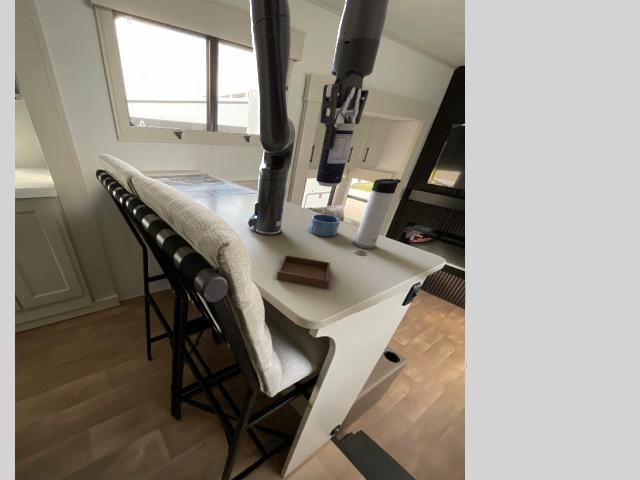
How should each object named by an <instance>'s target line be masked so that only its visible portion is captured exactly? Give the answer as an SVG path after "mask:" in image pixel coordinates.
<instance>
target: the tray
mask: <svg viewBox="0 0 640 480" xmlns="http://www.w3.org/2000/svg"><path fill="white" fill-rule="evenodd" d="M330 272H331V262H330V261H329V262H328V261H323V260H317V259H311V258H306V257H300V256H294V255H287V254H284V256H283V259H282V260H281V263H280V266H279V268H278V270H277V275H276V279H277V280H281V281H286V282H291V283H296V284H301V285H306V286H312V287H317V288H321V289H328V287H329V284H330V274H331V273H330Z"/></svg>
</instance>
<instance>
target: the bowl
mask: <svg viewBox="0 0 640 480" xmlns="http://www.w3.org/2000/svg"><path fill="white" fill-rule="evenodd" d="M340 223H341V218H339V217H338V216H335V215H330V214H325V213H324V214H323V213H321V214H320V213H319V214H314V215H312V217H311V221H310V226H309V231H310V232H311V234H313V235H316V236H320V237H334V236H336V235H337V233H338V230H339V226H340Z"/></svg>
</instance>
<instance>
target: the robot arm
mask: <svg viewBox="0 0 640 480" xmlns="http://www.w3.org/2000/svg"><path fill="white" fill-rule="evenodd" d="M389 1H390V0H345V2H344V7H343V11H342V14H341V18H340V23H339V27H338V32H337V39H336V43H335V48H334V53H333V54H334V55H333V60H332V64H331V65H332V66H331V70H330V71H331V72H330V73H331V75H332V76H333V77H335V80H334V83H329V84H325V85H324V86H323V90H322V100H321V109H320V110H321V111H320V120H319V122H320V124H323V125H324V128H325V132H324V136H323V141H322V147H323V149H333V147H334V142H335V138H336V133H337V128H336V127H337V126H338V124H339V123H340V122H341V123H343V124H353V125H352V127H353V128H355V126H356V125H359V124H360V122H361V118H362V116H363V112H364V108H365V106H366V102H367V99H368V96H369V89H363V85H364V84H363V83H364V78H365V77H368V76H370V75H372V73H373V72H374V67H375V63H376V60H377V55H378V52H379V47H380V44H381V40H382V37H383V36H382V35H383V33H384V27H385V23H386V18H387V12H388V5H389ZM249 3H250V17H251V18H250V19H251V20H250V21H251V22H250V23H251V35H252V48H253V56H254V65H255V77H256V85H257V94H258V140H259V144H260V146H261V148H262V149H263V153H262V154H263V155H262V160H261V164H260V166H259V169H258V180H257V181H258V182H257V192H256V193H257V195H256V202H255V203H254V212H253V214H252V215H251V217H250V218H249V219H248V222H247V224H248V227H249V228H252V227H253V228H252V232H256V233H258V234H261V235H265V236H266V235H267V236H272V235H273V236H274V235H277V234H280V233H281V232H282V224H283V215H284V209H285V202H286V201H285V200H286V195H287V194H286V193H287V187H288V180H289V179H288V178H289V173H290V170H291V167H292V165H291V164H292V159H293V153H294V147H295V139H296V128H295V125H294V123H293V121H292V120H291V119H290V118H289V115H288V108H287V107H288V105H287V81H288V73H289V67H290V59H291V46H292V44H291V43H292V41H291V40H292V37H291V36H292V35H291V34H292V33H291V31H292V29H291V10H290V4H289V0H249Z"/></svg>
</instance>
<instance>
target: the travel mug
mask: <svg viewBox="0 0 640 480" xmlns="http://www.w3.org/2000/svg"><path fill="white" fill-rule="evenodd" d="M401 181H402V180H401V179H400V178H379V179H375V180H374V182H373V183H372V184H373V185H372V187H371V190H370V193H369V195H368V196H369V197H368V199H367V202H366V206H365V207H364V208H365V209H364V211H363V214H362V217H361V221H360V224H359V226H358V229H357V230H358V231H357V234H356V236H355V239H354V242H353V243H354V245H355V246H357V247H358V248H362V249H367V250H368V249H369V250H371V249H373V248H375V247H376V244H377V241H378V238H379V236H380V234H381V231H382V228H383V226H384V223H385V220H386V218H387V215H388V213H389V209H390V208H391V205H392V202H393V200H394V197H395V195H396V191H397V188H398V185H399V184H400V183H401Z"/></svg>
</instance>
